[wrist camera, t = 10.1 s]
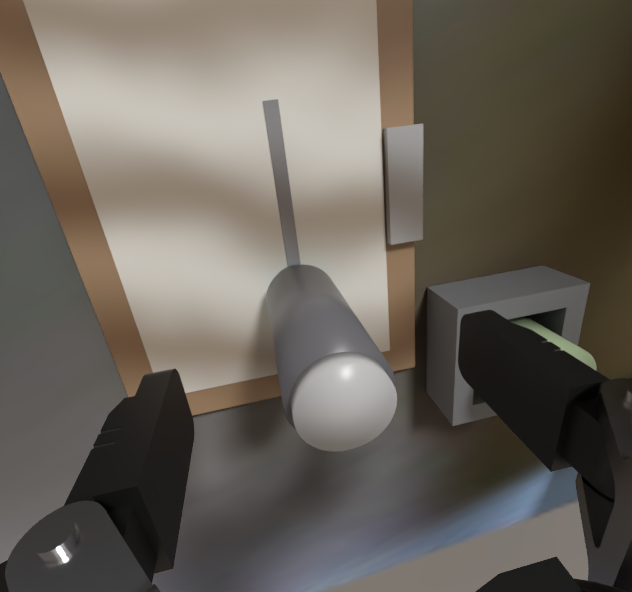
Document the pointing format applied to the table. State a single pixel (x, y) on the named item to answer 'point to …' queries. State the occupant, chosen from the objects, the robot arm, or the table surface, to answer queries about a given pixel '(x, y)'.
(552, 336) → the button
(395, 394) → the cylinder
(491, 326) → the robot arm
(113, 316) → the clipboard
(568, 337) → the button housing
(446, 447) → the table surface
